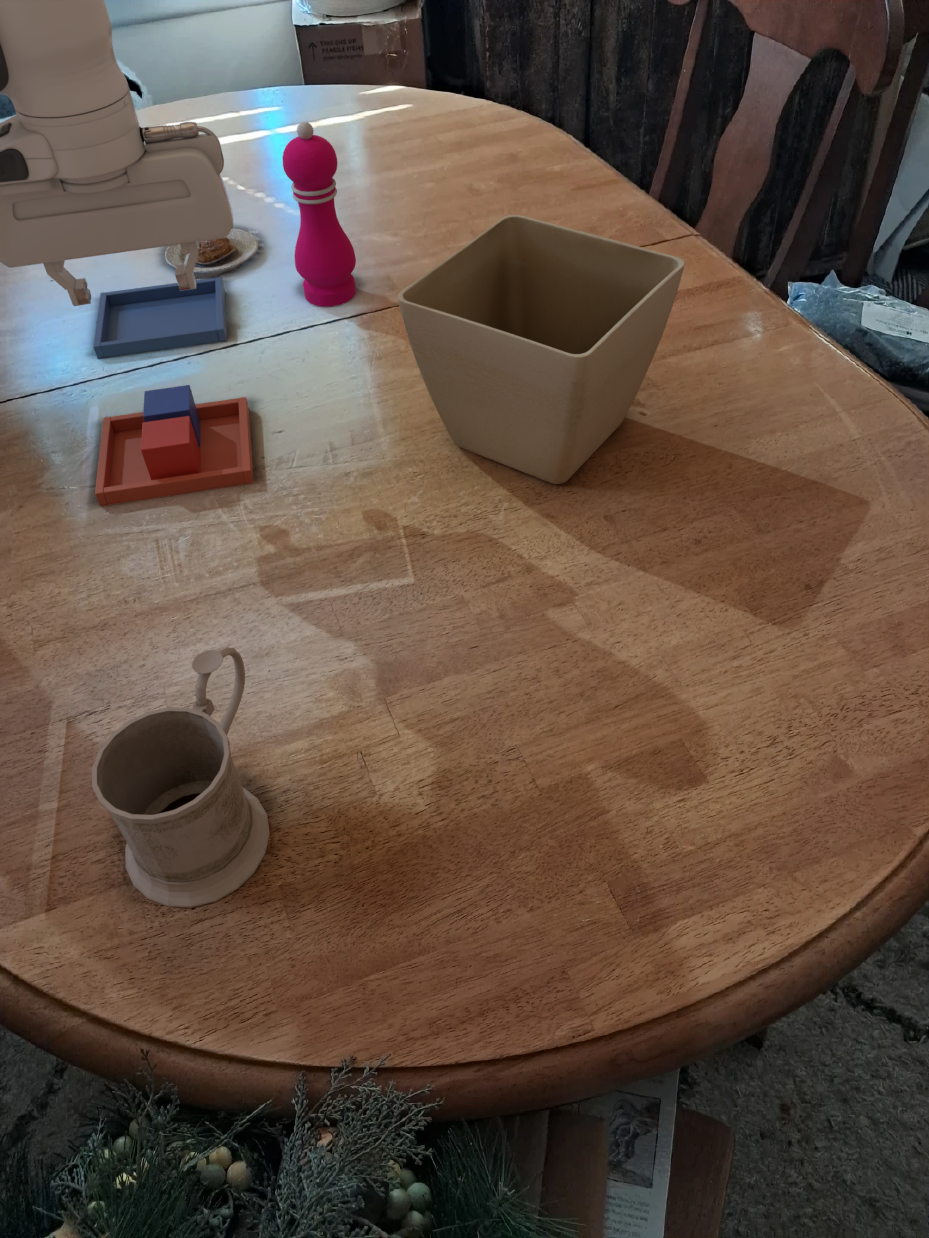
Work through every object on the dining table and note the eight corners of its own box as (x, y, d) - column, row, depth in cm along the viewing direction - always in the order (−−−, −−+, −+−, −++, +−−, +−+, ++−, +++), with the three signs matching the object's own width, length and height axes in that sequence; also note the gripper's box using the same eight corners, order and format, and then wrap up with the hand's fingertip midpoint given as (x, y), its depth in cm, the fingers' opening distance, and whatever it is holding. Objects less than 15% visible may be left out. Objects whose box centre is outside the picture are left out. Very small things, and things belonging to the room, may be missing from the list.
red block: (153, 487, 95) (140, 450, 92) (155, 460, 98) (142, 422, 95) (200, 480, 96) (189, 442, 92) (200, 453, 99) (189, 415, 96)
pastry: (150, 258, 129) (140, 224, 126) (228, 227, 135) (220, 193, 131) (197, 289, 123) (188, 254, 120) (277, 256, 128) (270, 221, 125)
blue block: (155, 454, 99) (142, 416, 96) (156, 428, 102) (144, 391, 99) (200, 447, 100) (189, 409, 96) (200, 421, 103) (189, 384, 99)
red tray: (101, 510, 94) (94, 493, 93) (109, 433, 103) (102, 417, 101) (254, 486, 96) (250, 470, 94) (249, 412, 104) (245, 396, 103)
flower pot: (670, 414, 100) (689, 256, 88) (576, 520, 90) (584, 357, 78) (511, 363, 108) (509, 211, 96) (408, 454, 98) (391, 297, 86)
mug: (222, 927, 64) (174, 828, 55) (97, 879, 67) (33, 778, 58) (323, 755, 73) (296, 647, 65) (210, 719, 76) (169, 611, 67)
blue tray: (98, 362, 112) (92, 347, 111) (105, 308, 121) (100, 292, 120) (227, 344, 114) (223, 329, 112) (225, 291, 122) (221, 276, 121)
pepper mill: (292, 290, 122) (260, 119, 107) (346, 274, 124) (322, 104, 109) (313, 315, 117) (283, 140, 103) (369, 299, 119) (347, 125, 105)
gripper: (214, 105, 82) (249, 262, 93) (-38, 137, 81) (26, 294, 91) (215, 133, 78) (252, 295, 88) (-51, 168, 76) (18, 328, 86)
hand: (135, 294), depth 89 cm, fingers open, 8 cm apart
